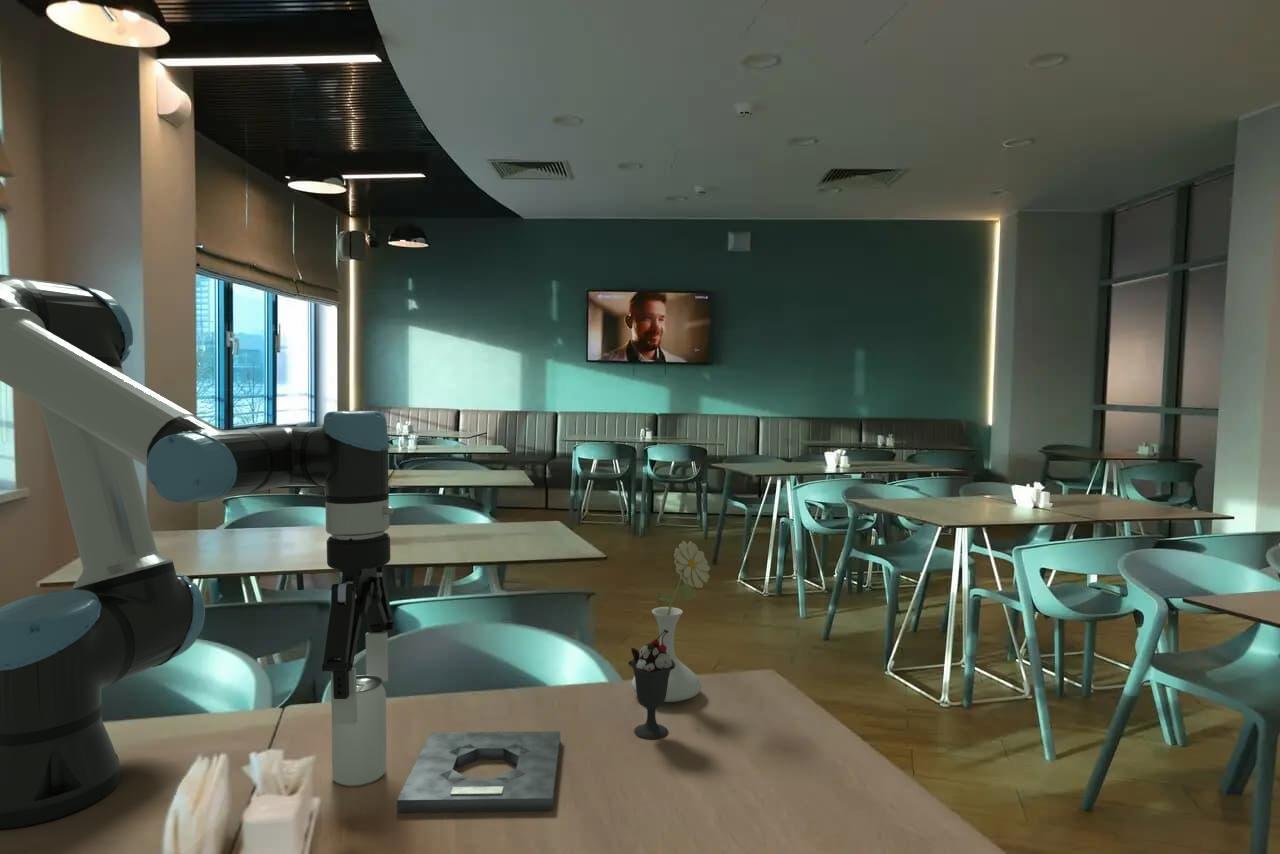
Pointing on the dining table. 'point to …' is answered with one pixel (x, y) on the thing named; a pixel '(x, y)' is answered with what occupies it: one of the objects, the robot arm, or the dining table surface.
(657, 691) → the sundae
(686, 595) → the flower in vase
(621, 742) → the dining table surface
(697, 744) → the dining table surface
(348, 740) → the can
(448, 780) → the socket plate
